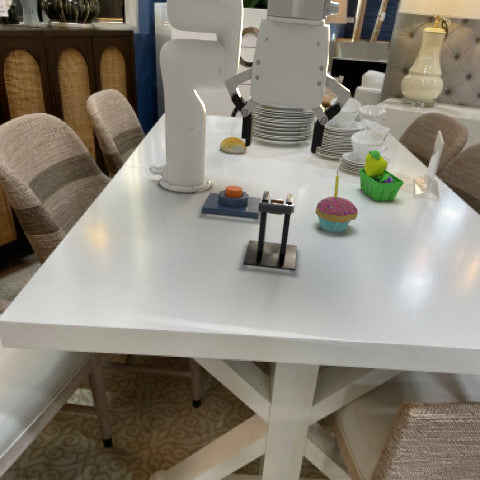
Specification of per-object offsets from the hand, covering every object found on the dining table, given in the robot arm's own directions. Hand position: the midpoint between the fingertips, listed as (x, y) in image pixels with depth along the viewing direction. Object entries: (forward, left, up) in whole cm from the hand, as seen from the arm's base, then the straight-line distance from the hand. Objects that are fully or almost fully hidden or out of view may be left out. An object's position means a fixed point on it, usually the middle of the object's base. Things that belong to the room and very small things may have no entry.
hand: (280, 147), depth 70 cm
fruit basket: (+24, +51, -21) cm, 60 cm away
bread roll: (-17, +82, -21) cm, 86 cm away
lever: (0, +1, -11) cm, 11 cm away
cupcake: (+12, +23, -21) cm, 34 cm away
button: (-10, +28, -17) cm, 34 cm away
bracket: (0, +6, -21) cm, 22 cm away
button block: (-10, +28, -21) cm, 36 cm away
